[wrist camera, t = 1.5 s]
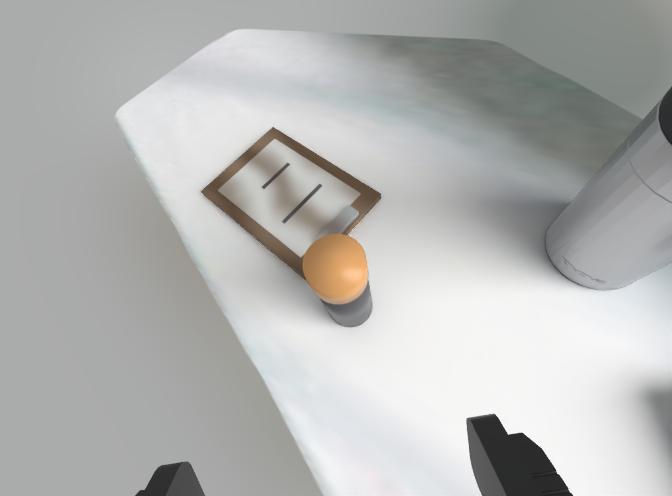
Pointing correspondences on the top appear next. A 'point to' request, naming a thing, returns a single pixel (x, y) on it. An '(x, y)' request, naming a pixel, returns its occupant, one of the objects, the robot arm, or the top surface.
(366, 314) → the orange-capped grey cylinder
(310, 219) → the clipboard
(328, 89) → the top surface
